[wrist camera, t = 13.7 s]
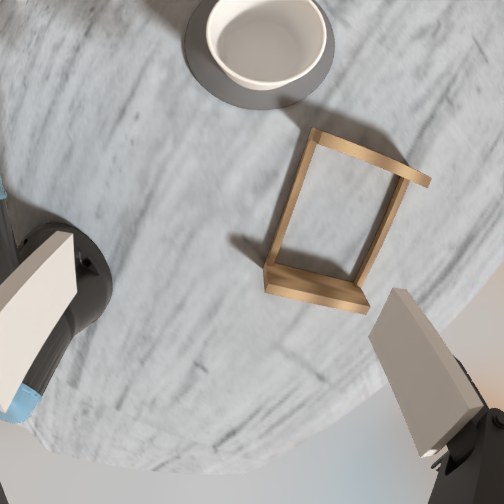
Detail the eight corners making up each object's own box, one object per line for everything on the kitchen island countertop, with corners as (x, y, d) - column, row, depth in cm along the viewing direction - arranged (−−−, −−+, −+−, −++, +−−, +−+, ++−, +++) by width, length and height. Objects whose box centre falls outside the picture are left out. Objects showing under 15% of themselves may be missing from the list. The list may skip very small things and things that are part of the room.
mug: (188, 10, 24) (163, -24, 15) (262, -22, 23) (267, -67, 14) (242, 104, 29) (240, 105, 20) (316, 71, 28) (346, 59, 18)
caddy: (262, 269, 38) (264, 292, 34) (311, 127, 31) (322, 131, 26) (354, 291, 40) (366, 314, 36) (410, 167, 33) (431, 178, 28)
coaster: (169, 91, 29) (167, 91, 28) (210, -32, 22) (210, -34, 22) (309, 128, 31) (310, 128, 30) (348, 6, 24) (350, 5, 24)
